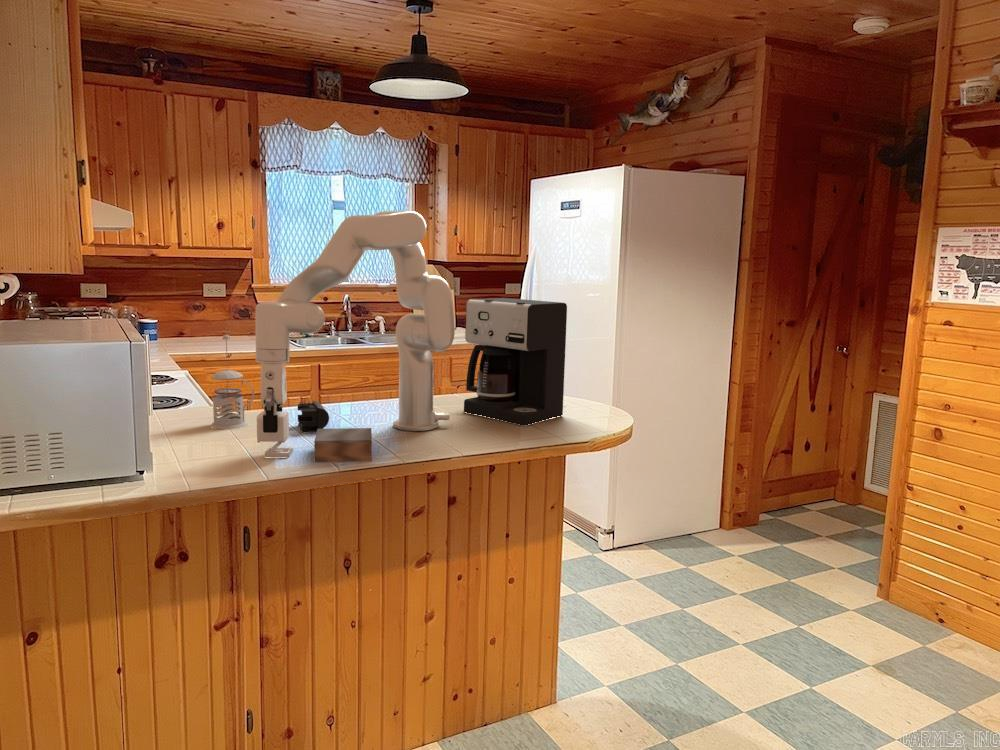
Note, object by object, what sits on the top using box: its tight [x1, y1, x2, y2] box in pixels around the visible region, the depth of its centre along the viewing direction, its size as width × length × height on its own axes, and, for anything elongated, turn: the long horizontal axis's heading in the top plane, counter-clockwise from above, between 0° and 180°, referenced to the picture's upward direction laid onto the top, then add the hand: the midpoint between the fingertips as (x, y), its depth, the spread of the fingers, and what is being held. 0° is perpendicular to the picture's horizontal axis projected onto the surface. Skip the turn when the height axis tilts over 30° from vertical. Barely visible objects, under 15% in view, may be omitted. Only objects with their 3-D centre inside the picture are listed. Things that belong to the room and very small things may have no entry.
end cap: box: [297, 400, 330, 433], centre depth 205 cm, size 10×7×7 cm
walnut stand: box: [314, 427, 373, 463], centre depth 180 cm, size 13×12×5 cm
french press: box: [210, 334, 255, 430], centre depth 205 cm, size 10×12×25 cm
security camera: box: [256, 410, 293, 458], centre depth 177 cm, size 6×7×10 cm
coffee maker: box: [463, 297, 568, 426], centre depth 228 cm, size 28×20×35 cm
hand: (272, 427), depth 177 cm, fingers open, 9 cm apart
